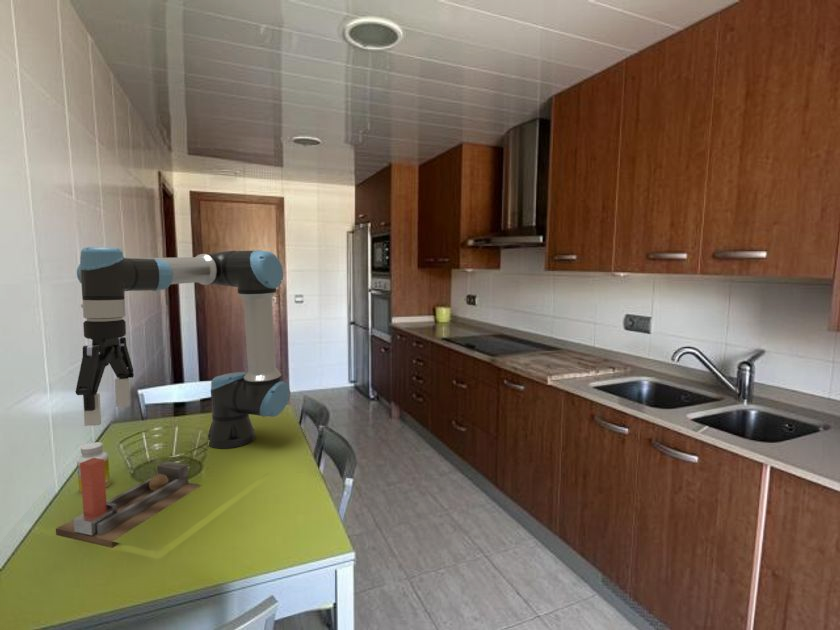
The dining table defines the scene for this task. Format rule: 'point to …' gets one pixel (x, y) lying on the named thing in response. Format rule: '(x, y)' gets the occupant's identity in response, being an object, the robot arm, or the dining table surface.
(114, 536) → the base
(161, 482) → the nut
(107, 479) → the supplement bottle
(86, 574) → the dining table surface
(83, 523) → the lever
